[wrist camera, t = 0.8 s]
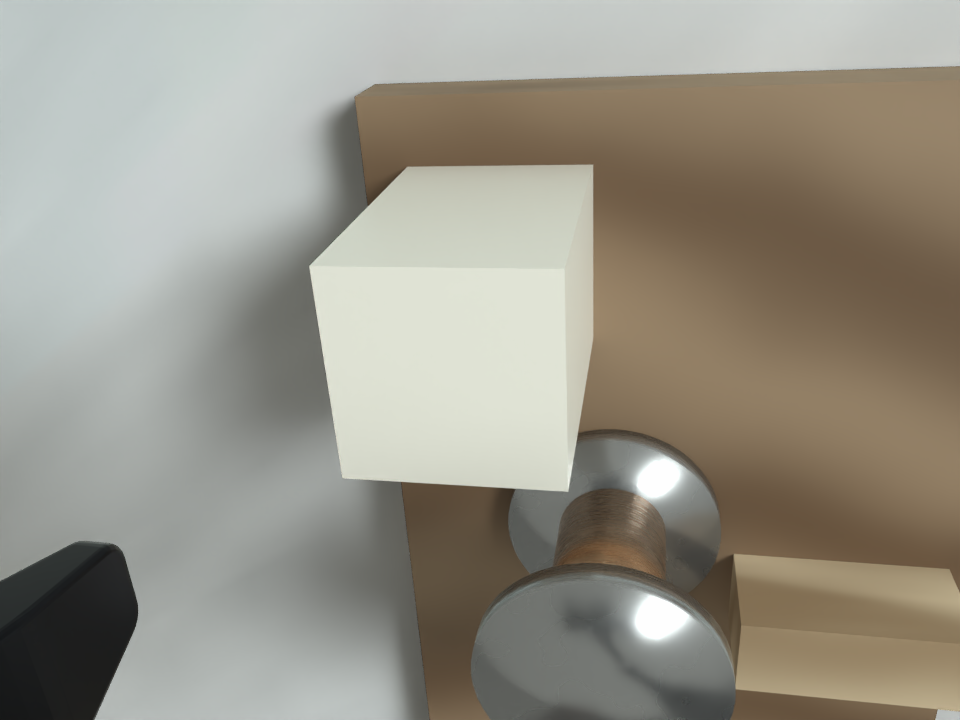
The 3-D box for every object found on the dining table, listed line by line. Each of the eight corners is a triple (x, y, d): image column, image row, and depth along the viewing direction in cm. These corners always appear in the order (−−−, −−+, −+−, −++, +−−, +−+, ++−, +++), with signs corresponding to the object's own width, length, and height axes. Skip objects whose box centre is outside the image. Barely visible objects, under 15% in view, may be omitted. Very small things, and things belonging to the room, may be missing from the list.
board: (895, 785, 27) (907, 831, 25) (446, 733, 29) (436, 772, 28) (1062, 63, 17) (1094, 76, 16) (375, 84, 20) (354, 96, 18)
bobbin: (713, 604, 23) (726, 790, 18) (516, 588, 24) (478, 760, 19) (726, 434, 20) (745, 596, 16) (507, 424, 21) (462, 573, 17)
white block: (593, 338, 20) (567, 491, 15) (423, 333, 21) (342, 478, 15) (593, 164, 18) (564, 269, 13) (407, 166, 19) (308, 266, 14)
